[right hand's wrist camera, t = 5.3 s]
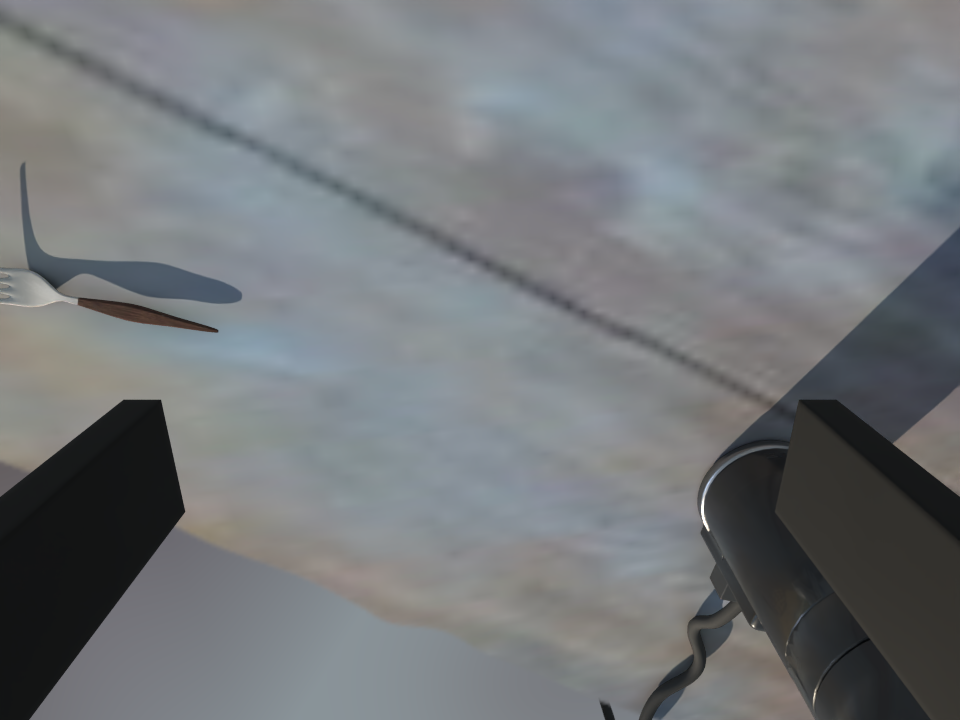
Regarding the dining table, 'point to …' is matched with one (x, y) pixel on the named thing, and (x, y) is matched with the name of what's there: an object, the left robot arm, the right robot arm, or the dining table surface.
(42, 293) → the fork
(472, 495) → the dining table surface
